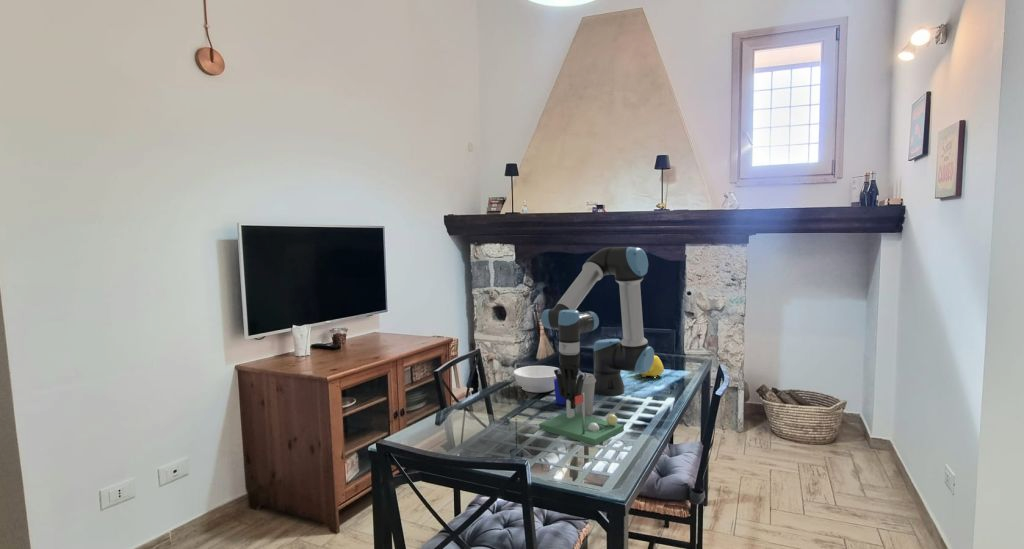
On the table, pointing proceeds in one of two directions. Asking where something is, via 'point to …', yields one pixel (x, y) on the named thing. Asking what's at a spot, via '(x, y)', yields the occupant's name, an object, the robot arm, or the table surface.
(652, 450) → the table surface
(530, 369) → the bowl
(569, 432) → the putting mat
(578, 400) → the flag pin
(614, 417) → the yellow ball
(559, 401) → the mug
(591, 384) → the coffee cup
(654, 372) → the teapot
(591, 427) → the white ball
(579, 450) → the table surface
